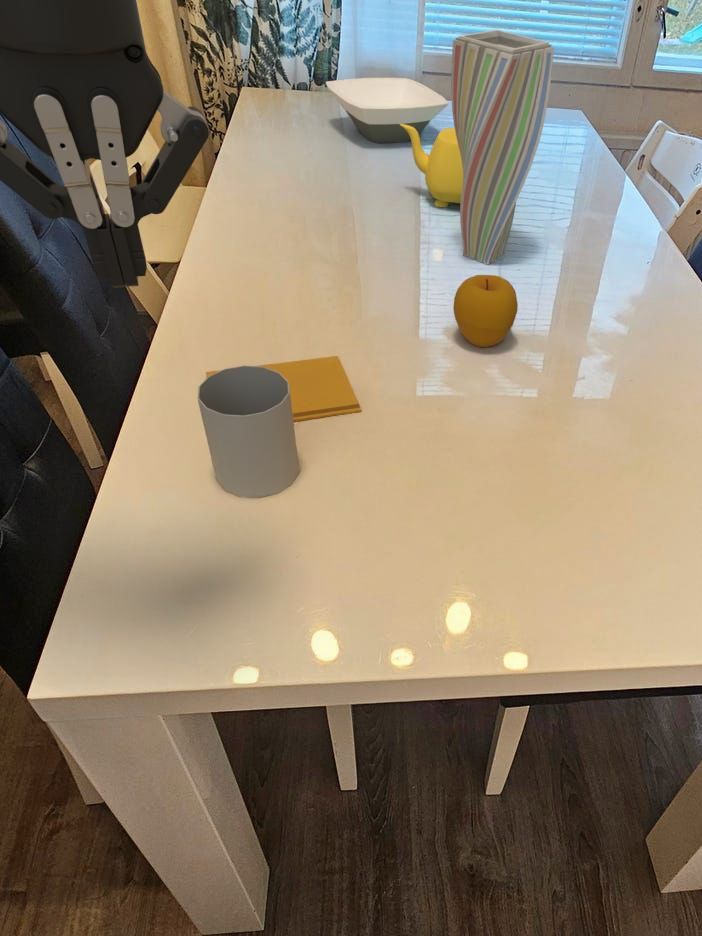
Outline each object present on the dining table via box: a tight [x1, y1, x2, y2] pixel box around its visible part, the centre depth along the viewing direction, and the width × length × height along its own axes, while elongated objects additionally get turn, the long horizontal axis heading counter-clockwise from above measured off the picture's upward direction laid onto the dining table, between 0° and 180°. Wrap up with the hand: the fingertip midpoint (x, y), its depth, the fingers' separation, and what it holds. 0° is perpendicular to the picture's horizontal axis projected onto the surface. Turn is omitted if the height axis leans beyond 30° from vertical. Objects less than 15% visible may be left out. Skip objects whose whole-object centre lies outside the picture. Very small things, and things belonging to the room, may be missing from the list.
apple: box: [452, 274, 519, 348], centre depth 93 cm, size 8×8×9 cm
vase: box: [450, 29, 555, 266], centre depth 105 cm, size 14×14×30 cm
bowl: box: [325, 77, 449, 144], centre depth 153 cm, size 22×23×8 cm
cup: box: [196, 365, 300, 499], centre depth 70 cm, size 8×8×10 cm
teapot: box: [400, 124, 463, 208], centre depth 128 cm, size 14×20×13 cm
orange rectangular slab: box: [205, 355, 362, 422], centre depth 83 cm, size 16×12×1 cm
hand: (124, 281), depth 43 cm, fingers closed
